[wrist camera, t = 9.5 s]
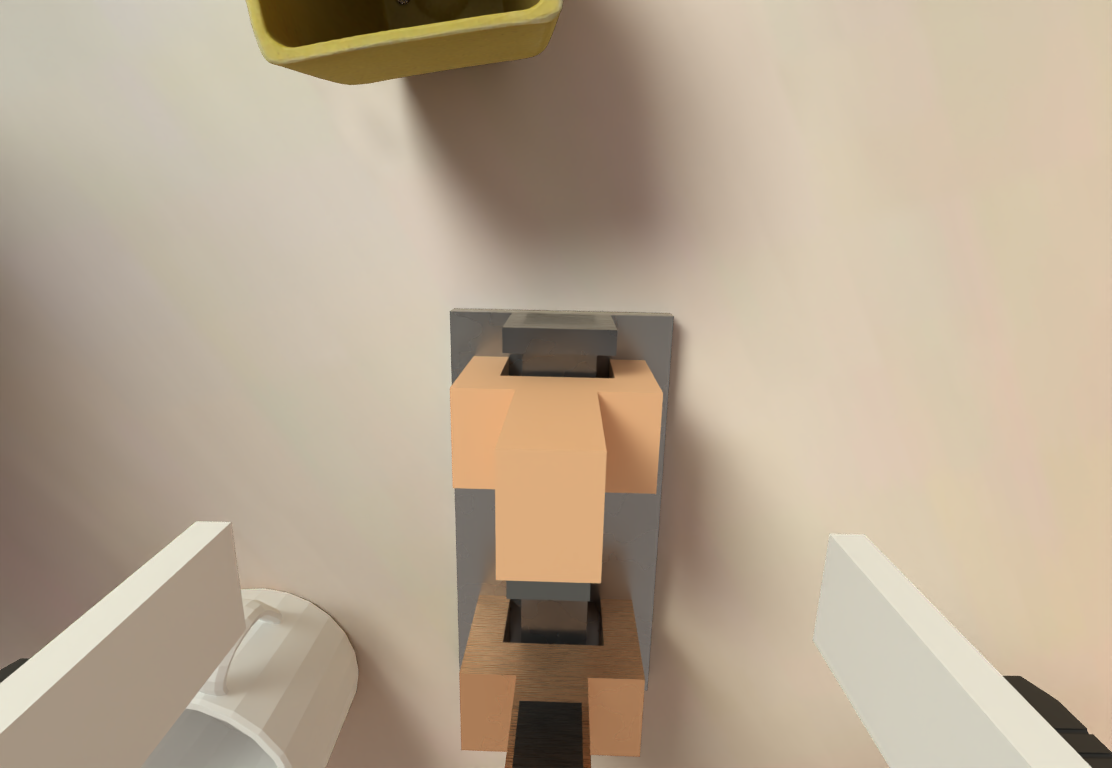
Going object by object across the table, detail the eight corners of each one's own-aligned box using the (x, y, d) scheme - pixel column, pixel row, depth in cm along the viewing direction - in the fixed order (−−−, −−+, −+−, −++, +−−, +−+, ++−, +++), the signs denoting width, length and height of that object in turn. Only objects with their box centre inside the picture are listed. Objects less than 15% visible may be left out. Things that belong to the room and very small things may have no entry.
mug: (342, 760, 35) (276, 916, 27) (164, 710, 34) (43, 855, 26) (399, 567, 31) (341, 681, 23) (202, 508, 31) (75, 605, 23)
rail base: (463, 670, 33) (400, 931, 21) (454, 308, 28) (362, 372, 15) (644, 676, 32) (688, 943, 20) (670, 313, 27) (748, 381, 15)
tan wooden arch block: (644, 360, 27) (696, 454, 16) (639, 454, 28) (684, 604, 17) (473, 355, 27) (405, 446, 16) (475, 450, 28) (413, 595, 17)
